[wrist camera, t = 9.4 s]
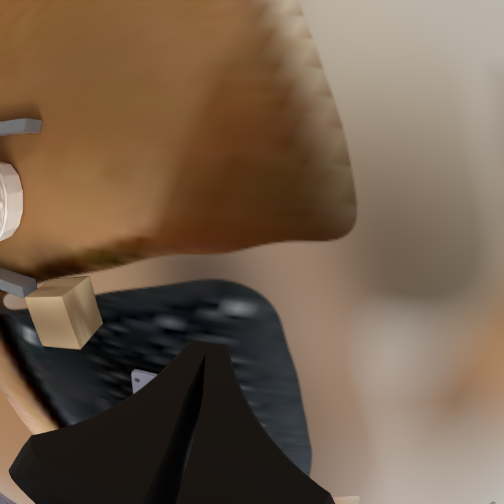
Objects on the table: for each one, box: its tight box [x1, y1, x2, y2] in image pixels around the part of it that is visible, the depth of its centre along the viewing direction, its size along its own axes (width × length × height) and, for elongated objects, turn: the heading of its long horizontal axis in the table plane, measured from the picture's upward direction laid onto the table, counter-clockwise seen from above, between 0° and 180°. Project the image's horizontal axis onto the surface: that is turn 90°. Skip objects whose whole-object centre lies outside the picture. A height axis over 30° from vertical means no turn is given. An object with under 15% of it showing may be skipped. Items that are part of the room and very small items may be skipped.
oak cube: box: [25, 276, 103, 349], centre depth 18 cm, size 4×4×4 cm
